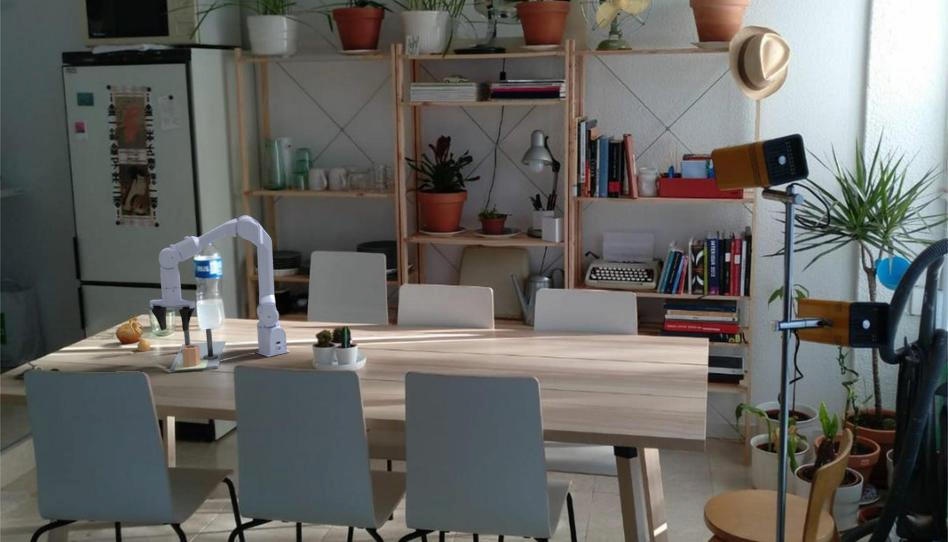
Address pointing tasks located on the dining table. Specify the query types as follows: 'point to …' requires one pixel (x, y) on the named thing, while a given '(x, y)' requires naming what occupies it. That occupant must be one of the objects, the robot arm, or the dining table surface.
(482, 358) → the dining table surface
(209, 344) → the posts
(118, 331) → the fruit
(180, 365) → the pad
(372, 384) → the dining table surface
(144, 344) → the figurine
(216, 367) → the board
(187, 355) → the octagonal hollow tube
